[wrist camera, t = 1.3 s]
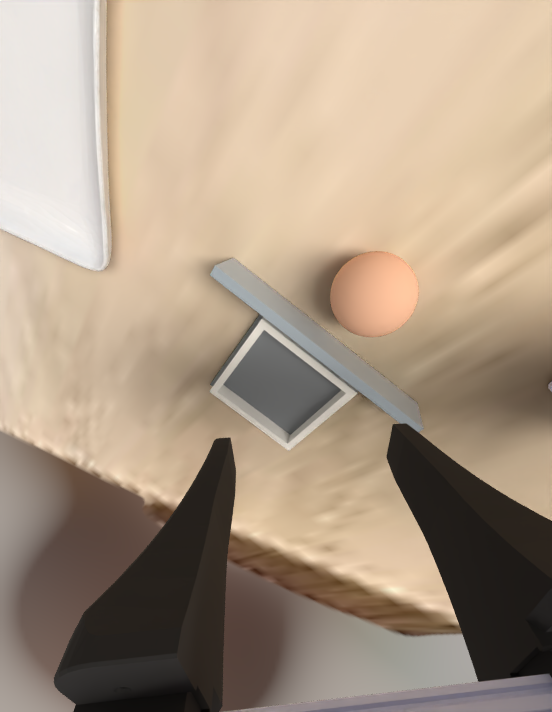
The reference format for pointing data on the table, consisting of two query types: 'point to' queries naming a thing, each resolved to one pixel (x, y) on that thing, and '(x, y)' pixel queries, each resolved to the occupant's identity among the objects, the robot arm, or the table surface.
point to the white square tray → (279, 385)
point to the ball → (374, 294)
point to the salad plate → (55, 128)
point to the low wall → (317, 342)
